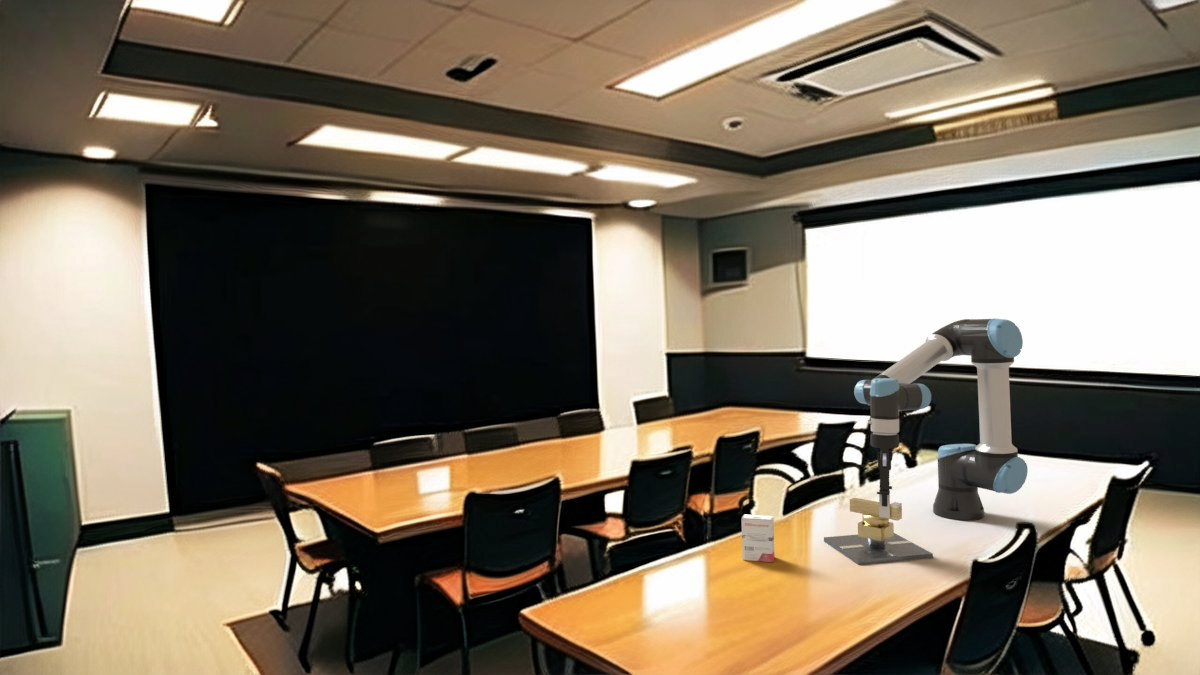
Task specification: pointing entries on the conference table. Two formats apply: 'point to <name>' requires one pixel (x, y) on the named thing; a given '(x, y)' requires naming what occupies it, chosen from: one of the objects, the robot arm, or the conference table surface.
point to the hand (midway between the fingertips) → (884, 514)
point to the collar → (875, 519)
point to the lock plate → (877, 549)
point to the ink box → (757, 538)
